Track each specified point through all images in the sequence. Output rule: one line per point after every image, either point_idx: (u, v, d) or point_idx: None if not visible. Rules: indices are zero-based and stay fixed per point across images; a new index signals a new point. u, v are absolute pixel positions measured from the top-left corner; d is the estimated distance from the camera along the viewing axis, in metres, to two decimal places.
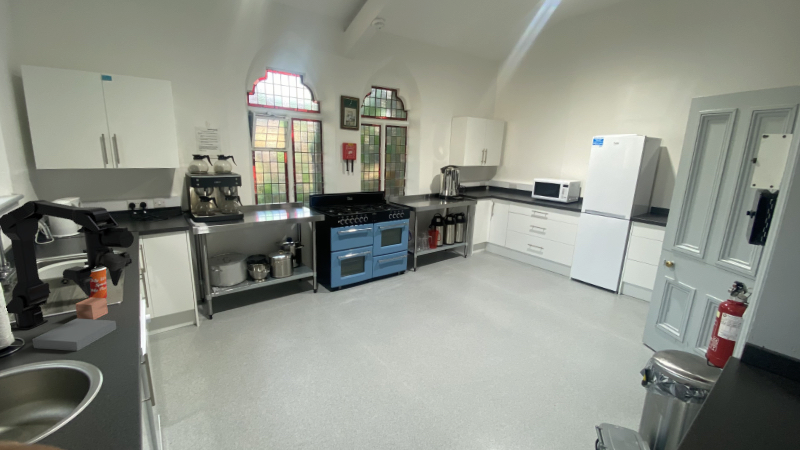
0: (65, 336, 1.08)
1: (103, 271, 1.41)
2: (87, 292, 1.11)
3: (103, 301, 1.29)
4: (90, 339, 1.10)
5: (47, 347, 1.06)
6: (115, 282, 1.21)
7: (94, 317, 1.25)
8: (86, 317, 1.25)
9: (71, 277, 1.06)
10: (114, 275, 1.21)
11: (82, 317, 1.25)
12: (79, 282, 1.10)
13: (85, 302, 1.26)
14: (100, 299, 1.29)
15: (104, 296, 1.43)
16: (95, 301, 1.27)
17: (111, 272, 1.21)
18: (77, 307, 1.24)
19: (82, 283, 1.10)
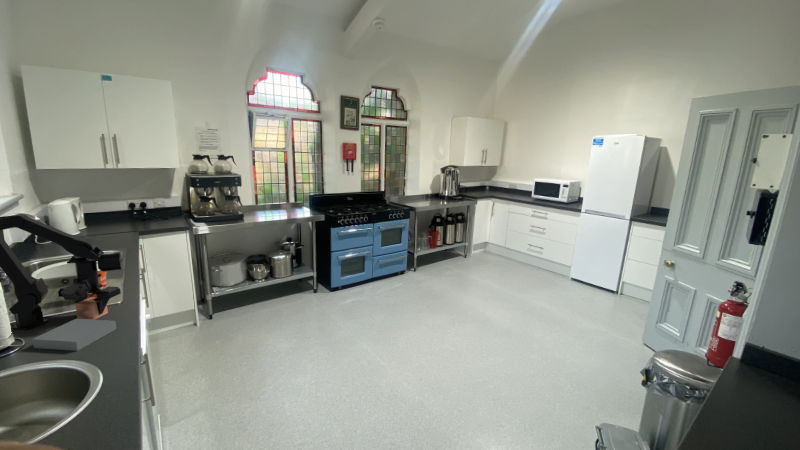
0: (65, 336, 1.08)
1: None
2: None
3: None
4: (90, 339, 1.10)
5: (47, 347, 1.06)
6: None
7: (94, 317, 1.25)
8: (86, 317, 1.25)
9: None
10: None
11: (82, 317, 1.25)
12: None
13: (85, 302, 1.26)
14: None
15: None
16: (95, 301, 1.27)
17: None
18: (77, 307, 1.24)
19: None
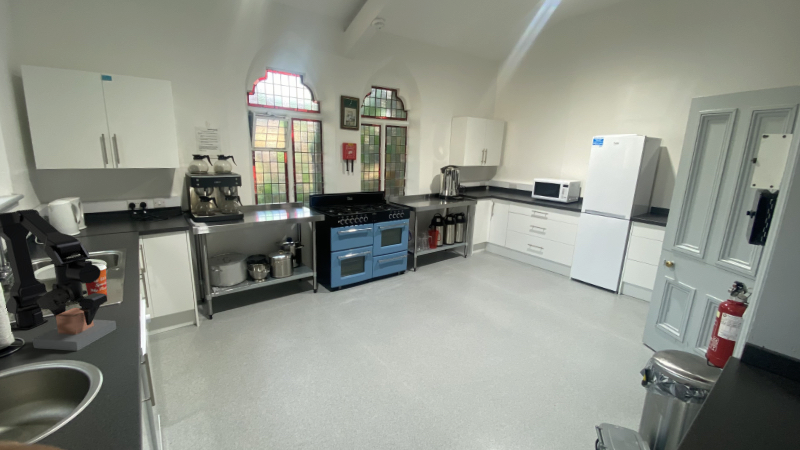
0: (65, 336, 1.08)
1: (103, 271, 1.41)
2: None
3: None
4: (90, 339, 1.10)
5: (47, 347, 1.06)
6: None
7: (77, 331, 1.10)
8: (68, 331, 1.09)
9: None
10: None
11: (63, 331, 1.09)
12: (59, 307, 1.12)
13: (67, 313, 1.10)
14: None
15: None
16: (79, 312, 1.11)
17: None
18: (58, 319, 1.09)
19: None
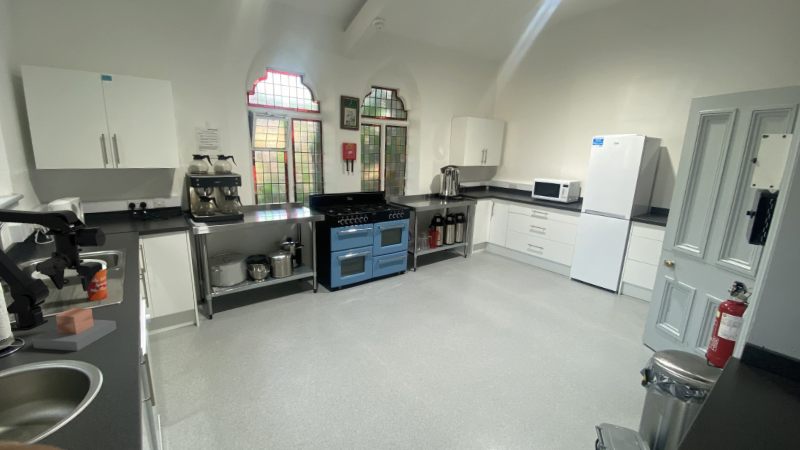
0: (65, 336, 1.08)
1: (103, 271, 1.41)
2: None
3: (88, 312, 1.13)
4: (90, 339, 1.10)
5: (47, 347, 1.06)
6: None
7: (77, 331, 1.10)
8: (68, 331, 1.09)
9: None
10: None
11: (63, 331, 1.09)
12: None
13: (67, 313, 1.10)
14: (84, 310, 1.13)
15: (104, 296, 1.43)
16: (79, 312, 1.11)
17: None
18: (58, 319, 1.09)
19: None
